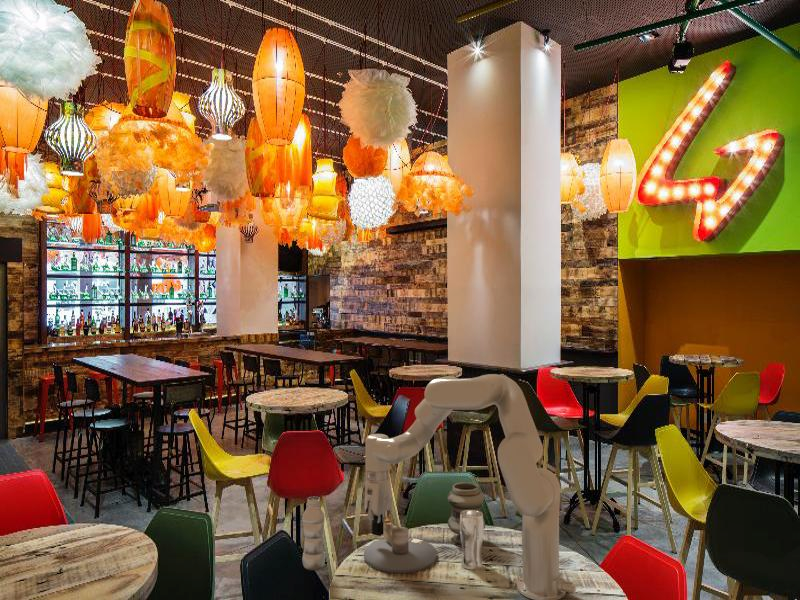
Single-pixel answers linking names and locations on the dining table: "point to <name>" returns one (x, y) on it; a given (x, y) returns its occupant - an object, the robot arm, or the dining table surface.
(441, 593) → the dining table surface
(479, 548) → the beer glass
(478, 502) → the apothecary jar
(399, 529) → the tan knob handle
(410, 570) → the dial base
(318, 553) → the plastic bottle
